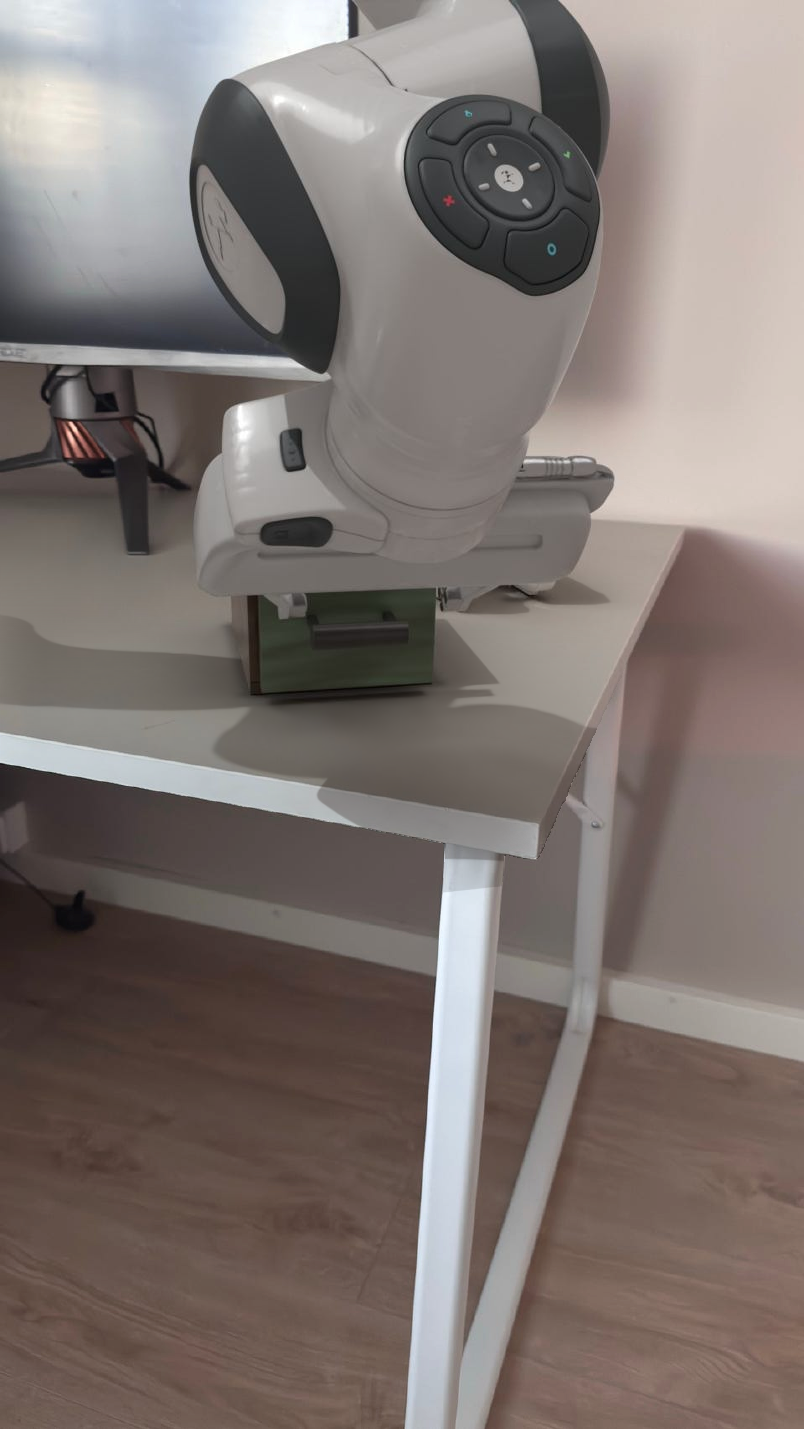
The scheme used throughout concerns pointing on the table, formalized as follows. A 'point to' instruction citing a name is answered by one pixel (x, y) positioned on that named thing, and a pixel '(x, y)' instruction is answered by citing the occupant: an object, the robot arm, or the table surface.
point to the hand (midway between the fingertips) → (371, 604)
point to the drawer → (349, 640)
